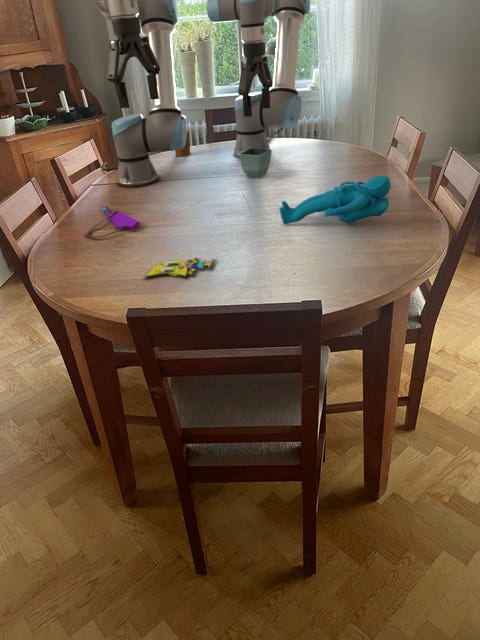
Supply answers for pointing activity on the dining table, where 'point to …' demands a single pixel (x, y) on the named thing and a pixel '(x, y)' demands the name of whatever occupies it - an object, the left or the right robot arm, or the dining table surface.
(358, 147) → the dining table surface
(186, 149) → the beer glass
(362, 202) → the toy
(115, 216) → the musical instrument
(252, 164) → the green square planter
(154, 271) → the toy
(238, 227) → the dining table surface
